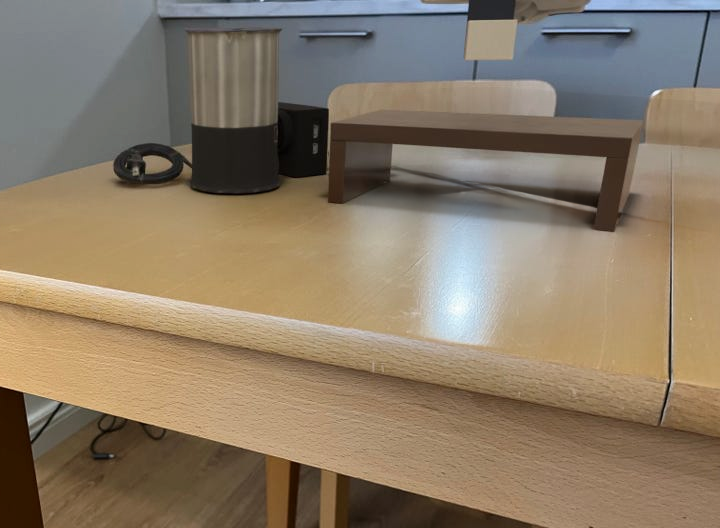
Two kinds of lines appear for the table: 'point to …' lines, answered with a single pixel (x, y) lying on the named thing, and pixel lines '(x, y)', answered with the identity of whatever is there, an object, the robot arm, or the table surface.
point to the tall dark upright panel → (490, 30)
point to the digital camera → (302, 139)
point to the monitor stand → (482, 147)
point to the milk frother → (224, 115)
